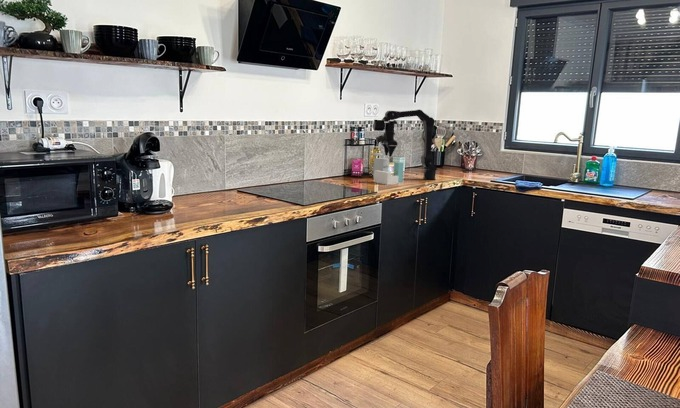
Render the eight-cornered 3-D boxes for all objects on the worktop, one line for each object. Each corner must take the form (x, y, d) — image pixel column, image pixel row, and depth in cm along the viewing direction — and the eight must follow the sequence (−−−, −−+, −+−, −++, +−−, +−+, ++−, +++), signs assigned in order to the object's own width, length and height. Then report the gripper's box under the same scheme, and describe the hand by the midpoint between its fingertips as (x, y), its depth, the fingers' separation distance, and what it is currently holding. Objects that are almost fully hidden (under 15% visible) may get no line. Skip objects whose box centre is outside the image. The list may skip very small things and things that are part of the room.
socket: (385, 181, 313) (386, 169, 312) (399, 183, 304) (400, 172, 303) (373, 182, 307) (374, 170, 306) (387, 184, 298) (387, 172, 297)
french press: (373, 173, 350) (375, 137, 345) (388, 175, 343) (390, 138, 339) (365, 174, 342) (367, 137, 337) (380, 176, 335) (382, 138, 331)
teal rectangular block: (397, 181, 314) (398, 162, 312) (402, 182, 311) (403, 162, 309) (391, 181, 311) (392, 162, 309) (395, 182, 308) (397, 163, 306)
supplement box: (382, 178, 324) (383, 159, 321) (372, 177, 328) (373, 158, 326) (388, 177, 330) (389, 158, 327) (378, 176, 334) (379, 157, 332)
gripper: (373, 130, 326) (372, 154, 328) (380, 131, 308) (379, 157, 310) (390, 130, 328) (389, 154, 330) (398, 131, 309) (397, 157, 312)
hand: (388, 156), depth 321 cm, fingers open, 9 cm apart
